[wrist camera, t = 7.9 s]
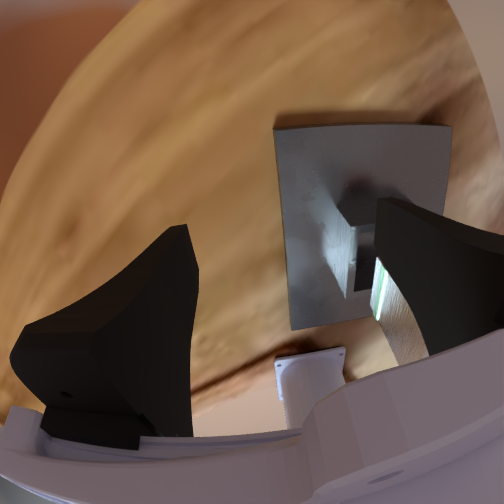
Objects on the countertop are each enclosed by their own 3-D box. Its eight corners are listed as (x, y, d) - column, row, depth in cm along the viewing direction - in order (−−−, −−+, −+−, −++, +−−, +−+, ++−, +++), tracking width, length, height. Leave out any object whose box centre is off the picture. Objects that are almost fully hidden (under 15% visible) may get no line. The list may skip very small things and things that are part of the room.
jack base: (417, 297, 28) (439, 332, 24) (290, 323, 28) (299, 366, 24) (444, 124, 18) (487, 141, 14) (272, 128, 19) (285, 145, 14)
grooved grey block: (418, 294, 19) (463, 367, 14) (368, 305, 20) (406, 388, 14) (431, 239, 17) (493, 311, 11) (376, 248, 17) (431, 333, 11)
